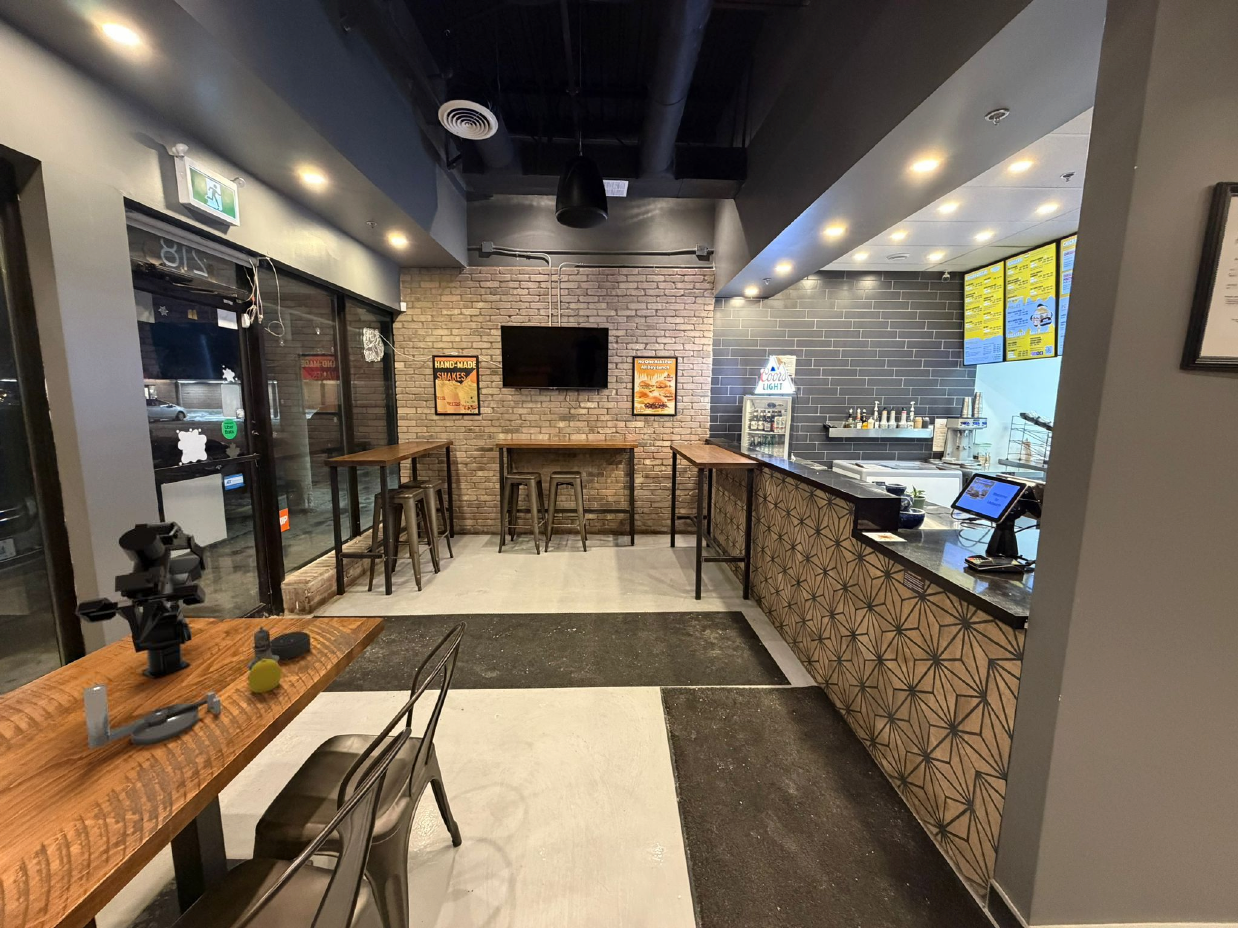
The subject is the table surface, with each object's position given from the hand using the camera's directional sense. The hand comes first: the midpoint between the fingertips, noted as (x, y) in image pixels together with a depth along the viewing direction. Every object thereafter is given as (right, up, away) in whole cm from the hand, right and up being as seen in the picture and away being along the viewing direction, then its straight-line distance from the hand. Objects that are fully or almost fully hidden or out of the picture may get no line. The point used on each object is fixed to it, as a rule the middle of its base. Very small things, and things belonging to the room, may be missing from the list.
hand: (137, 641), depth 94 cm
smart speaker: (+15, -12, +22) cm, 30 cm away
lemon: (+23, -14, +5) cm, 27 cm away
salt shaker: (+17, -13, +12) cm, 24 cm away
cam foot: (+14, -13, -9) cm, 21 cm away
